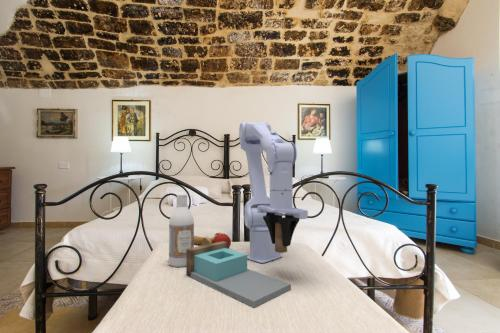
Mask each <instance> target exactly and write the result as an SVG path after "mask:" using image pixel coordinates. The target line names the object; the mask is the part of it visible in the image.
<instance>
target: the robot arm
mask: <svg viewBox="0 0 500 333" xmlns="http://www.w3.org/2000/svg"><path fill="white" fill-rule="evenodd" d="M238 136H239V137H238V138H239V145H240V149H241V150H243V152H245V154H246V161H247V162H246V163H247V170H248V175H249V176H248V177H249V185H250V192H251V193H250V194H251V198H250V199H249V200H248V201H247V202H245V205H244V208H243V210H244V213H243V214H244V215H243V216H244V218H243V220H244V225H245V227H246V228H247V229H248V230H249V254H247V260H250V261H253V262H256V263H259V264H264V263H268V262H271V261H274V260H276V259H279V258H282V257H283V255H282V254H281V253H278V252H275V223H276V222H280V224H281V228H282V242H283V246H284V247H287V248H288V247H289V246H291V243H292V239H293V236H294V235H293V234H294V232H295V230H296V228H297V226H298V224H299V222H300V220H305V219H308V216H309V214H308V213H309V212H308V209H302V208H296V207H293V165H295V163H296V161H297V157H298V156H297V155H298V154H297V147H296V145H295V143H294V142H285V140H284V139H283V138H281V137H280V136H279V134H278V132H277V131H273V130H272V127H271V124H270V123H269V122H257V121H256V122H255V121H254V122H253V121H244V120H243V121H241V122H240V124H239V128H238ZM262 152H265V156H266V159H265V160H266V163H267V172H269V196H268V195H267V186H266V180H265V174H264V168H263V161H262Z"/></svg>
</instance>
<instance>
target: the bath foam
mask: <svg viewBox="0 0 500 333" xmlns="http://www.w3.org/2000/svg"><path fill="white" fill-rule="evenodd" d="M193 216H194V215H193V214H192V212H191V210H190V209H189V207H188V194H187V193H177V194H176V207H175V208H174V210H173V212H172V213H171V216H170V217H169V223H168V224H169V225H168V263H169V265H170V266H171V267H175V268H182V267H184V268H185V267H186V257H187V249H190V248H194V247H195V244H194V236H195V221H194V217H193Z"/></svg>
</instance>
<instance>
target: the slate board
mask: <svg viewBox="0 0 500 333" xmlns="http://www.w3.org/2000/svg"><path fill="white" fill-rule="evenodd" d="M185 271H186V270H185ZM185 273H186V274H187V273H188V271H186V272H185ZM189 273H190V272H189ZM189 273H188V276H187V277H189V276H190V275H191V277H190V278H191V279H194V280H195V281H197V282H199V283H202V284H203V285H206V286H208V287H210V288H212V289H214V290H216V291H219V292H221V293H223V294H225V295H227V296H228V297H230V298H233V299H235V300H237V301H238V302H241V303H243V304H244V305H247V306H249V307H251V308H257V307H258V306H260V305H263V304H264V303H267V302H268V301H271V300H272V299H274V298H277V297H278V296H280V295H283V294H285V293H287V292H289V291H291V290H292V283H289V282H286V281H285V280H284V281H283V280H280V279H278V278H275V277H272V276H270V275H266V274H263V273H260V272H259V271H255V270H252V269H249V268H247V271H244V272H241V273H238V274H236V275H233V276H230V277H227V278H224V279H221V280H218V281H215V280H212V279H210V278H208V277H206V276H203V275H201V274H199V273H197V272H191V273H190V274H189ZM186 274H185V275H186Z"/></svg>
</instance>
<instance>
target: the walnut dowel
mask: <svg viewBox="0 0 500 333" xmlns="http://www.w3.org/2000/svg"><path fill="white" fill-rule="evenodd" d="M275 252H278V253H280V254H281V253H282V254H283V253H287V252H288V246H287V247H284V246H283V242H282V228H281V224H280V222H276V223H275Z"/></svg>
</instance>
